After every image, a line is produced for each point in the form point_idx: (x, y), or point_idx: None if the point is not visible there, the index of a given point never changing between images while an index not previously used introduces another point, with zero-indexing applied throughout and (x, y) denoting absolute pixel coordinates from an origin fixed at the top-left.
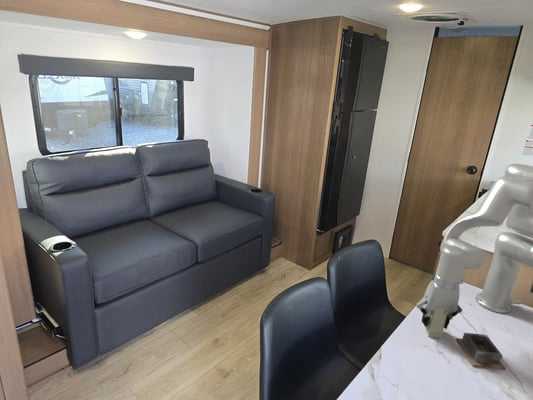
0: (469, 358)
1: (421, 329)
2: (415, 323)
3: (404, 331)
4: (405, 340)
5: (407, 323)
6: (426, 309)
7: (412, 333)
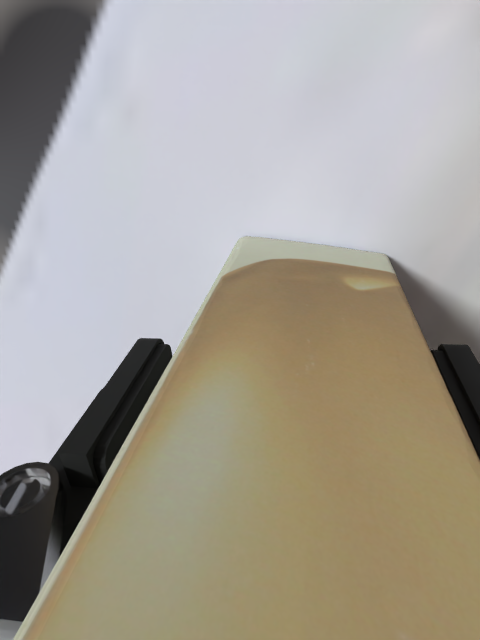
0: None
1: (186, 307)
2: (135, 210)
3: (18, 356)
4: (30, 448)
5: (43, 229)
6: (19, 574)
7: (87, 372)
